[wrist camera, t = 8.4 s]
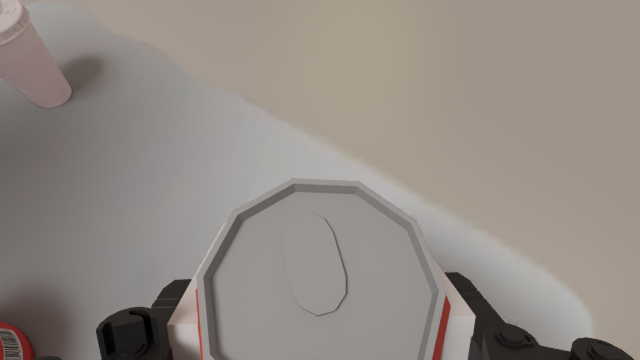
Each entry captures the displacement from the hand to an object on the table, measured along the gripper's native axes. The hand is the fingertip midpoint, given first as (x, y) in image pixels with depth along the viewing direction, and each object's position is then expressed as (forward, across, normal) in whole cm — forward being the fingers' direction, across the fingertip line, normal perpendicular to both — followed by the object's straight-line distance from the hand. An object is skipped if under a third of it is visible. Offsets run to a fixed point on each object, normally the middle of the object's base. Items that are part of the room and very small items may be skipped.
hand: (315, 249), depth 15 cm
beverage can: (+1, +1, -6) cm, 6 cm away
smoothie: (+26, -28, +5) cm, 39 cm away
